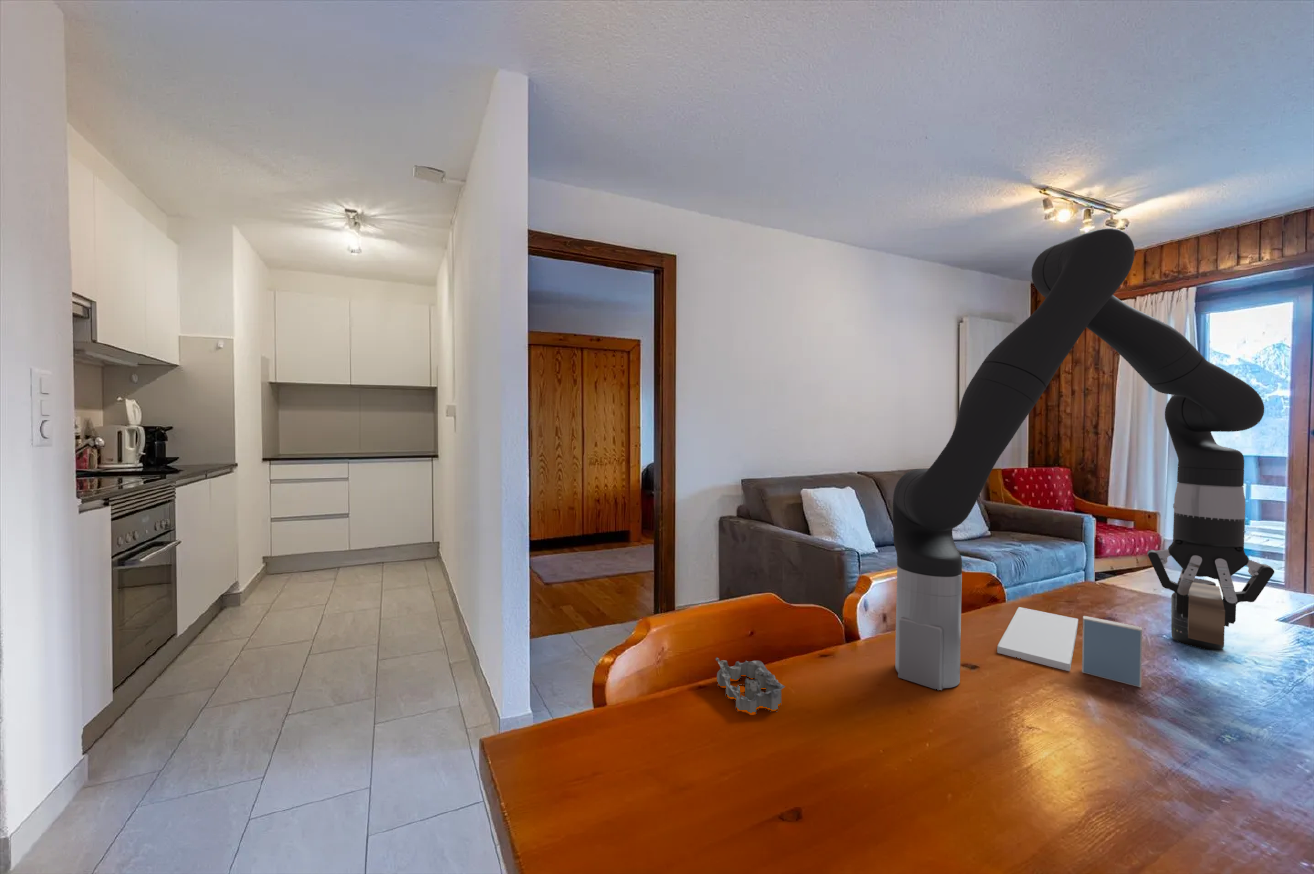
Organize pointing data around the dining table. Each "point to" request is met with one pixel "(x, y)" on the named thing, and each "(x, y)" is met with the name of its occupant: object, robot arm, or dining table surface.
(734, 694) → the cookie cutter
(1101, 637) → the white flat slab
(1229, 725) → the dining table surface
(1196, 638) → the brown wooden block
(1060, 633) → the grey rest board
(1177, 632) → the supplement bottle
